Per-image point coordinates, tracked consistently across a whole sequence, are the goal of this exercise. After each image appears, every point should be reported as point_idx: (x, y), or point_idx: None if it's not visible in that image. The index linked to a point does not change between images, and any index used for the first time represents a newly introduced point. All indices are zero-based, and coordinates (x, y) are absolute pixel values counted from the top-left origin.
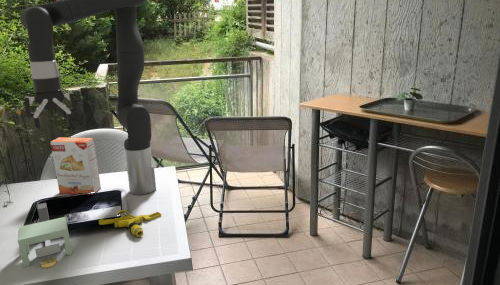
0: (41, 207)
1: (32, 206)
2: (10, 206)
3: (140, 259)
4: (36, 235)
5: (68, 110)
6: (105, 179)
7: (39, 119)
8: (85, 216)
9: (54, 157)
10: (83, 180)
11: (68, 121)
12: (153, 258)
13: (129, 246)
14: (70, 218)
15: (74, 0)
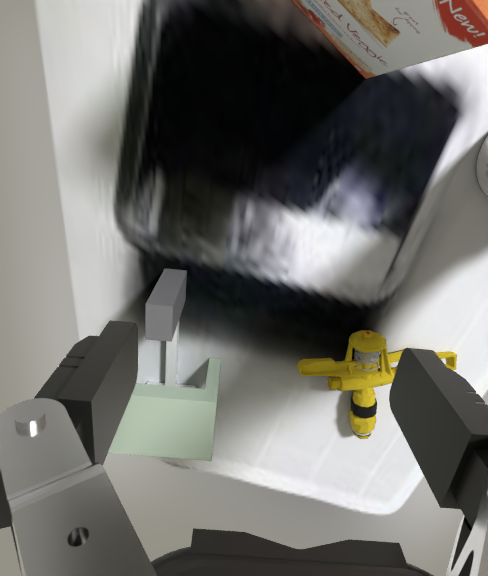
0: (157, 333)
1: (138, 41)
2: None
3: (323, 487)
4: (141, 453)
5: None
6: None
7: (104, 396)
8: (286, 250)
9: None
10: (356, 44)
11: (410, 435)
12: (343, 495)
13: (324, 443)
14: (244, 237)
15: None
